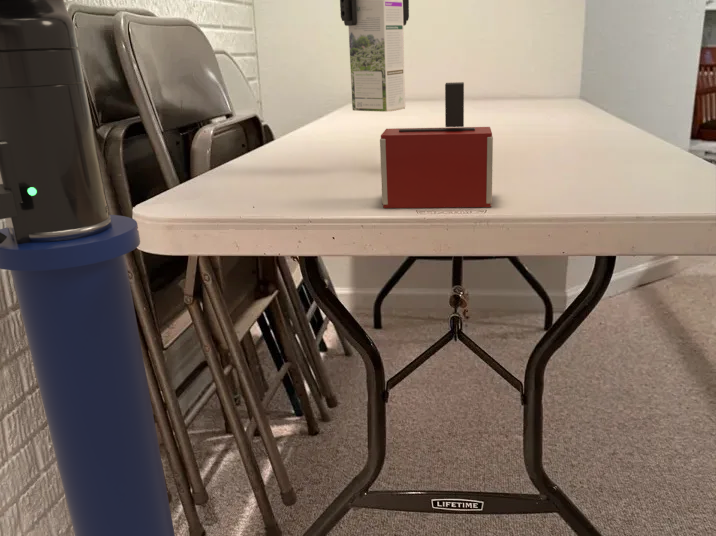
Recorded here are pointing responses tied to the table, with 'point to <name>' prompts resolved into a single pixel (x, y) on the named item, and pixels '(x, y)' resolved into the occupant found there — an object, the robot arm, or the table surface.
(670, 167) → the table surface
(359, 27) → the syrup box
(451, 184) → the toaster
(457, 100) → the block
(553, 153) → the table surface
